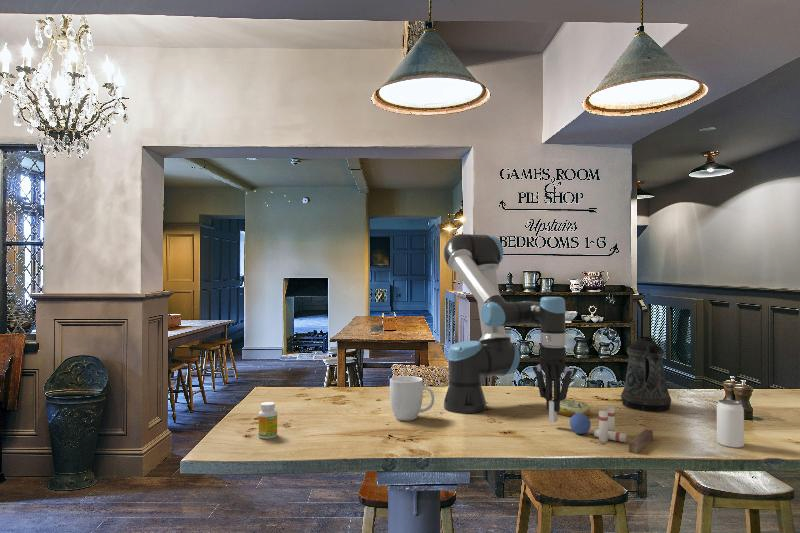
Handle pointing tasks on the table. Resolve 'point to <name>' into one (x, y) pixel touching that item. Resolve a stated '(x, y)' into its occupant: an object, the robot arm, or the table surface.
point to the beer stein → (645, 378)
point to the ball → (580, 423)
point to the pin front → (613, 436)
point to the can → (730, 423)
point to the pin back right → (603, 426)
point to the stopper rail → (640, 441)
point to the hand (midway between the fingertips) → (553, 421)
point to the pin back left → (611, 418)
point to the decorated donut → (573, 408)
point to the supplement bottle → (267, 421)
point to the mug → (408, 397)
